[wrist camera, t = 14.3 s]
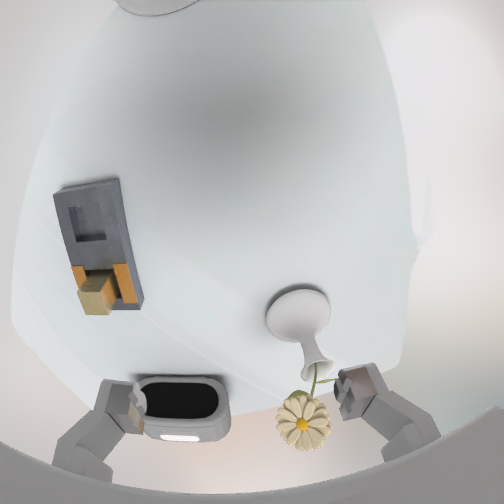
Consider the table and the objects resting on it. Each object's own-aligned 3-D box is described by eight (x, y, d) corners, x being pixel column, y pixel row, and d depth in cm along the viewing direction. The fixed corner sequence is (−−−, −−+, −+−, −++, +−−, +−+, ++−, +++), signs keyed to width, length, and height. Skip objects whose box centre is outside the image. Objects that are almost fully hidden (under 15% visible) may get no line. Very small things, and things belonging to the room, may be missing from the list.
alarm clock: (227, 372, 53) (230, 427, 41) (229, 396, 57) (233, 445, 46) (133, 371, 51) (122, 422, 39) (145, 395, 56) (137, 442, 44)
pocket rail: (62, 188, 33) (52, 194, 30) (119, 178, 34) (110, 184, 31) (93, 299, 42) (87, 310, 39) (144, 298, 43) (139, 310, 40)
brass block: (94, 266, 38) (76, 292, 32) (115, 265, 38) (100, 291, 32) (101, 288, 40) (86, 314, 34) (121, 287, 40) (108, 315, 34)
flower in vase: (310, 271, 43) (375, 403, 21) (337, 312, 48) (392, 427, 26) (243, 311, 46) (261, 451, 24) (277, 346, 51) (304, 465, 29)
